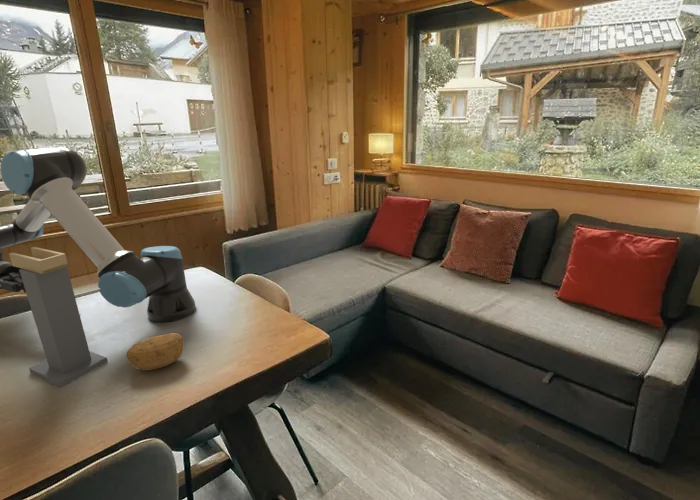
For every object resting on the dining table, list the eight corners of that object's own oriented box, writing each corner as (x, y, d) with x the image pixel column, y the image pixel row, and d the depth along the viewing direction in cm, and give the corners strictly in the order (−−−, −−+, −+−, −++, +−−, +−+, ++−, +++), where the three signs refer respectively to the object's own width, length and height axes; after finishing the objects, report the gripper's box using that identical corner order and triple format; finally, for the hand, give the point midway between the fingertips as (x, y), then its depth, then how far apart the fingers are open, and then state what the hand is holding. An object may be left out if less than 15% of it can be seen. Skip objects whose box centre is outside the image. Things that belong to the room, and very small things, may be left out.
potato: (129, 364, 110) (123, 338, 108) (184, 349, 117) (179, 324, 114) (130, 383, 102) (124, 356, 100) (189, 366, 109) (185, 340, 106)
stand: (107, 362, 111) (79, 249, 101) (61, 387, 101) (24, 265, 91) (77, 350, 118) (47, 243, 107) (30, 373, 108) (-7, 257, 97)
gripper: (37, 276, 141) (78, 288, 131) (-20, 294, 127) (21, 308, 117) (31, 256, 139) (72, 266, 128) (-27, 272, 125) (13, 284, 115)
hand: (47, 286), depth 123 cm, fingers closed on rail, 3 cm apart
